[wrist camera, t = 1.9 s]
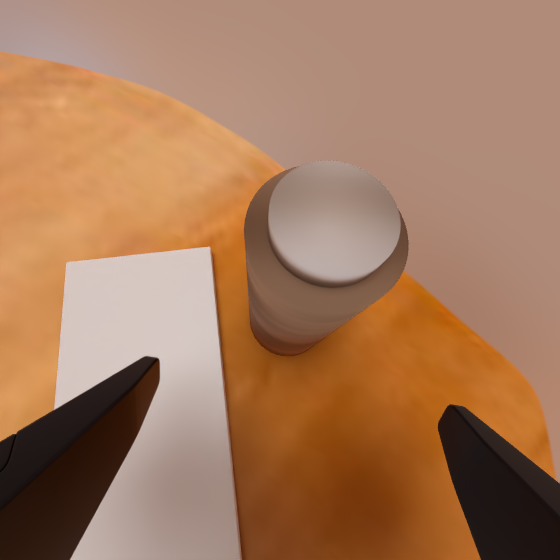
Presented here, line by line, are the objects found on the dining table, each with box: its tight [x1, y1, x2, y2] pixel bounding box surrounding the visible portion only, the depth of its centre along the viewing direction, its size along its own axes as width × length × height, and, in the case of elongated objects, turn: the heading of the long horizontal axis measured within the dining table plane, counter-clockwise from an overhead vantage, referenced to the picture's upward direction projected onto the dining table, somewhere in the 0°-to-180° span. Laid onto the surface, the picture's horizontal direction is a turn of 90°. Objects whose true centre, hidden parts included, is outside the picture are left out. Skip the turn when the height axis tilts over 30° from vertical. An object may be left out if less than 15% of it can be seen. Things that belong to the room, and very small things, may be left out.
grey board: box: [54, 247, 242, 560], centre depth 18 cm, size 24×10×1 cm, turn 10°
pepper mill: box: [244, 161, 408, 356], centre depth 15 cm, size 6×6×14 cm
